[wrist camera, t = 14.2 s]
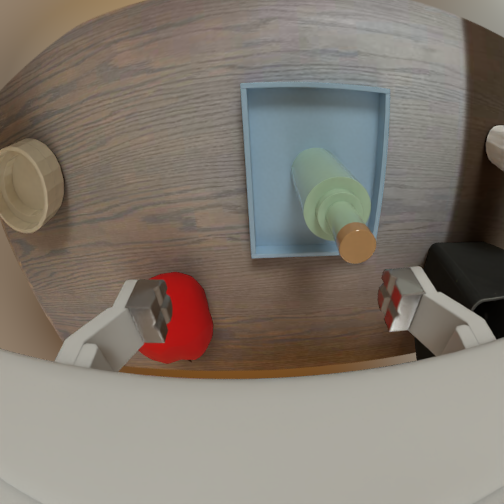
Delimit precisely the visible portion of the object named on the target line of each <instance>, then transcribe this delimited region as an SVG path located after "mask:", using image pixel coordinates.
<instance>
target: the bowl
mask: <svg viewBox="0 0 504 504" xmlns="http://www.w3.org/2000/svg"><path fill="white" fill-rule="evenodd" d="M63 196H64V181H63V176H62V172H61V168H60V165H59V163H58V161H57V159H56V157H55V155H54V154H53V152H52V151H51V150H50V149H49V148H48V147H47V146H46V145H45V144H44V143H42V142H40V141H38V140H37V139H29V138H26V139H23V140H21V141H18V142H16V143H14V144H12V145H9V146H7V147H5V148H3V149H1V150H0V217H1V218H2V219H3V220H4V221H5V223H6V224H7V225H9V226H10V227H11V228H13V229H14V230H16V231H18V232H21V233H33V232H35V231H36V230H38V229H39V228H41V227H42V226H43V225H44V224H45V223H46V222H47V221H48V220H50V219H51V218H52V217H53V216H54V215H55V214H56V213H57V211H58V210H59V208H60V207H61V204H62V199H63Z"/></svg>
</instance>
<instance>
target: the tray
mask: <svg viewBox="0 0 504 504" xmlns="http://www.w3.org/2000/svg"><path fill="white" fill-rule="evenodd" d="M240 88H241V104H242V119H243V135H244V150H245V166H246V181H247V197H248V212H249V227H250V243H251V258H276V257H305V256H332V255H340V254H339V251H338V249H337V246H336V242H335V241H330V240H325V239H322V238H320V237H318V236H316V235H315V234H314V233H313V232H312V231H311V230H310V229H309V228H308V226H307V224H306V222H305V219H304V216H303V213H302V210H301V206H300V203H299V200H298V197H297V194H296V190H295V187H294V184H293V181H292V178H291V166H292V163H293V161H294V159H295V158H296V157H297V156H298V155H299V154H300V153H301V152H302V151H304V150H306V149H309V148H323V149H326V150H328V151H330V152H331V153H332V154H333V155H335V157H336V158H337V159H338V160H339V161H340V162H341V163H342V164H343V165H344V166H345V167H346V168H347V169H348V170H349V171H350V172H351V173H352V174H353V176H354V177H355V178H356V179H357V180H358V181H359V182H360V183H361V184H362V185H363V187H364V188H365V189H366V191H367V192H368V194H369V197H370V201H371V211H370V215H369V218H368V220H367V222H366V226H368V228H369V229H370V230H371V232H372V234H373V235H374V237H375V239H376V237H377V231H378V225H379V218H380V212H381V205H382V197H383V189H384V181H385V172H386V161H387V150H388V136H389V117H390V89H386V88H378V87H370V86H361V85H350V84H337V83H319V82H258V83H241V84H240ZM373 254H374V253H373Z"/></svg>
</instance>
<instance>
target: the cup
mask: <svg viewBox="0 0 504 504" xmlns="http://www.w3.org/2000/svg"><path fill="white" fill-rule="evenodd" d="M486 153H487V156H488V159H489V160H490V161H491V162H492V163H493V164H495V165H496V166H497V167H498V168H500V169H501V170H502V171H503V172H504V126H501V125H499V126H495V127H493V128H492V129H491V130H490V132H489V134H488V136H487V140H486Z"/></svg>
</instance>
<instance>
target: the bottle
mask: <svg viewBox="0 0 504 504" xmlns="http://www.w3.org/2000/svg"><path fill="white" fill-rule="evenodd" d="M291 178H292V181H293V184H294V187H295V190H296V194H297V197H298V200H299V203H300V206H301V210H302V213H303V216H304V219H305V222H306V224H307V226H308V228H309V229H310V230H311V231H312V232H313V233H314V234H315V235H316V236H318V237H320V238H322V239H325V240H330V241H335V242H336V246H337V249H338V251H339V254H340V256H341V257H342V259H343V260H345V261H346V262H348V263H353V264H357V263H361V262H364V261H366V260H367V259H369V258H370V257H371V256H372V254H373V253H374V251H375V248H376V239H375V237H374V235H373V234H372V232H371V230H370V229H369V228H368V226H366V222H367V220H368V218H369V215H370V211H371V201H370V197H369V194H368V192H367V191H366V189H365V188H364V187H363V185H362V184H361V183H360V182H359V181H358V180H357V179H356V178H355V177H354V176H353V174H352V173H351V172H350V171H349V170H348V169H347V168H346V167H345V166H344V165H343V164H342V163H341V162H340V161H339V160H338V159H337V158H336V157H335V155H333V154H332V153H331V152H330V151H328V150H326V149H323V148H309V149H306V150H304V151H302V152H301V153H300V154H299V155H298V156H297V157H296V158H295V159H294V161H293V163H292V166H291Z"/></svg>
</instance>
